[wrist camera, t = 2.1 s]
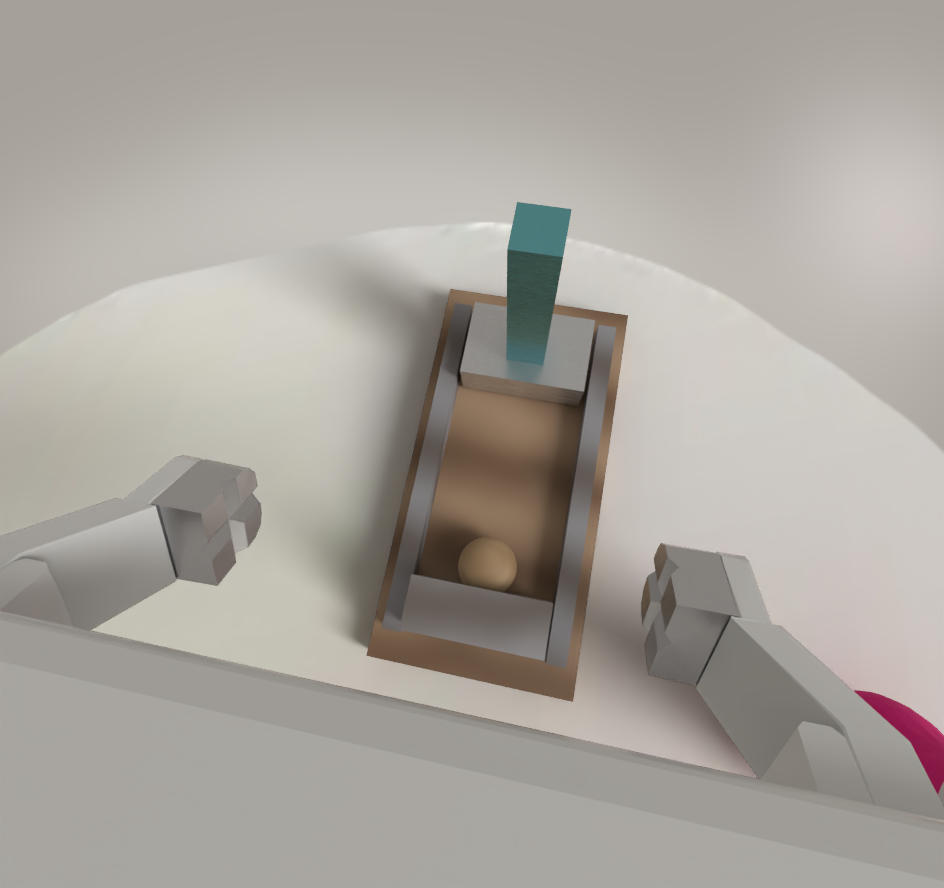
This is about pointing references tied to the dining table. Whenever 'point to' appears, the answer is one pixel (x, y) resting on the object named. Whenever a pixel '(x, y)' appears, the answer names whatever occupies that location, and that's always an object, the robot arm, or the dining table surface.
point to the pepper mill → (914, 735)
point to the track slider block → (530, 320)
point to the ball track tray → (499, 520)
